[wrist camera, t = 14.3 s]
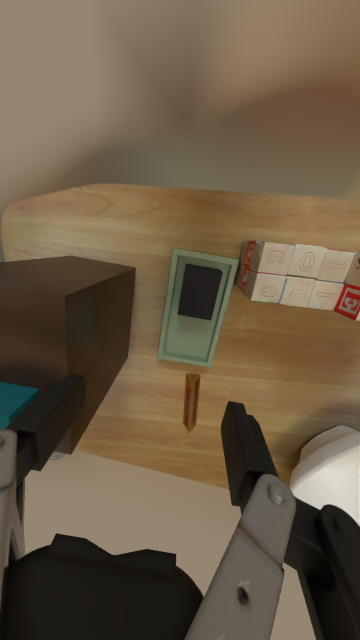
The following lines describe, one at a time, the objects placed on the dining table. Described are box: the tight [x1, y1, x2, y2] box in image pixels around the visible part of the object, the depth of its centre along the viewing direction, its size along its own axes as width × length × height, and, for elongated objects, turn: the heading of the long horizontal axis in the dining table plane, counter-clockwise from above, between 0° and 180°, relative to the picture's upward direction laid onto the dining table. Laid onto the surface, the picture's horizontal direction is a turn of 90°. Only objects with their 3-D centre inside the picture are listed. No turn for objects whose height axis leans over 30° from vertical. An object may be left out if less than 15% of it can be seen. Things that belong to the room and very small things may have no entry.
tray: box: [157, 248, 239, 368], centre depth 31 cm, size 18×9×2 cm, turn 170°
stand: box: [0, 256, 135, 454], centre depth 25 cm, size 16×10×18 cm, turn 170°
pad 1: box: [0, 382, 40, 430], centre depth 17 cm, size 7×5×3 cm
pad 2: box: [177, 264, 223, 321], centre depth 29 cm, size 7×5×3 cm
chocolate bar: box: [183, 374, 200, 433], centre depth 38 cm, size 3×12×2 cm, turn 178°
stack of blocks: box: [235, 241, 360, 321], centre depth 23 cm, size 21×6×12 cm, turn 83°
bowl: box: [289, 425, 360, 526], centre depth 37 cm, size 21×21×9 cm
